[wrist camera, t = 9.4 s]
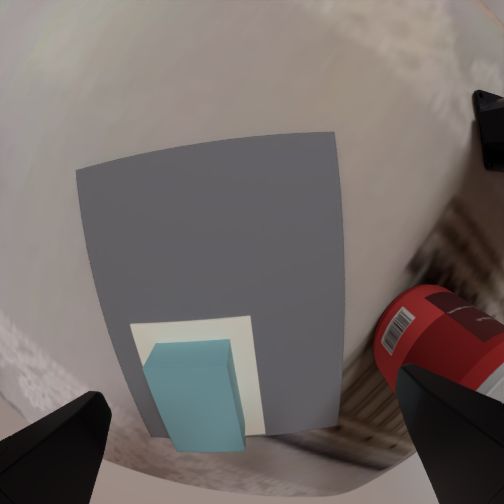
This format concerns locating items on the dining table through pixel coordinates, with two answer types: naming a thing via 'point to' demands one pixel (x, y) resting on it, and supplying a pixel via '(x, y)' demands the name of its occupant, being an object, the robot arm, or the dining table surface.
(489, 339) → the canned food
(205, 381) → the block
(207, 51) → the dining table surface
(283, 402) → the mat
